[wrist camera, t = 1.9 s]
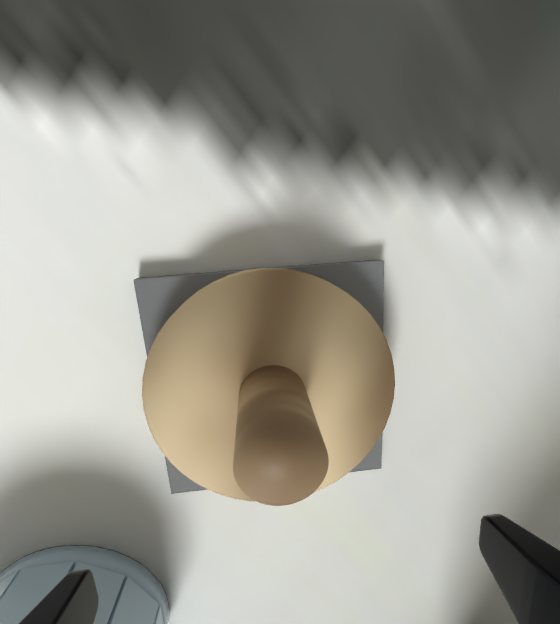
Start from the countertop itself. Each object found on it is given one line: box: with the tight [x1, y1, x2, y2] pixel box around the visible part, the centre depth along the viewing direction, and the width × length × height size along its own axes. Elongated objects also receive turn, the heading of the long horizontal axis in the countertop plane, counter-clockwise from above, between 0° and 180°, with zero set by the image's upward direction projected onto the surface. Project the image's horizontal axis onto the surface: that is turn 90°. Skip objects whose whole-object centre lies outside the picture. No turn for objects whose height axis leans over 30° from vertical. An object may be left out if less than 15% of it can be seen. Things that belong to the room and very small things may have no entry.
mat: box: [134, 260, 384, 494], centre depth 16 cm, size 11×11×1 cm
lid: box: [142, 268, 395, 506], centre depth 13 cm, size 11×11×6 cm
